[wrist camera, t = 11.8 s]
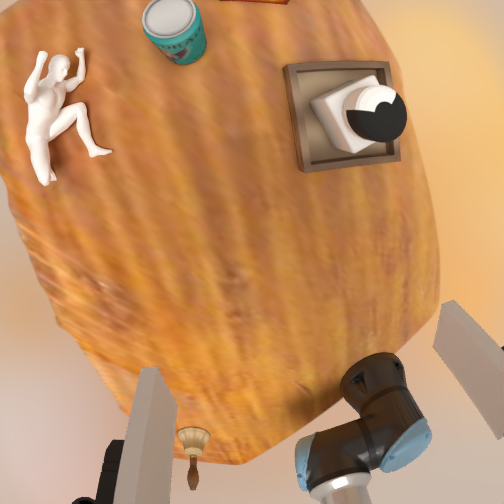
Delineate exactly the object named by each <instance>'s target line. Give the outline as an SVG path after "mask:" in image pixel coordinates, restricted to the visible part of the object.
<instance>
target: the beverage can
mask: <svg viewBox="0 0 504 504" xmlns="http://www.w3.org/2000/svg"><path fill="white" fill-rule="evenodd" d="M142 23H143V30H144V32H145V34H146V36H147V37H148V38H149V39H150V40H151V41H152V42H153V43H154V44H155V45H156V46H157V47H158V48H159V49H160V51H161V52H162V53H163V54H164V55H165V56H166V57H167V58H168V59H169V60H170V61H172V62H174V63H176V64H181V65H182V64H190V63H193V62H195V61H196V60H198V59H199V58H200V57H201V56H202V55H203V53H204V52H205V49H206V38H205V33H204V29H203V24H202V20H201V15H200V11H199V9H198V7H197V5H196V4H195V3H194V2H193V1H192V0H153V1H152V2H150V3H149V5H148V6H147V7H146V9H145V10H144V13H143V17H142Z"/></svg>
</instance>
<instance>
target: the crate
mask: <svg viewBox="0 0 504 504" xmlns="http://www.w3.org/2000/svg"><path fill="white" fill-rule="evenodd" d="M283 73H284V79H285V84H286V90H287V96H288V101H289V107H290V113H291V119H292V126H293V132H294V139H295V145H296V152H297V159H298V166H299V170H301V171H302V172H304V173H311V172H318V171H324V170H331V169H339V168H346V167H354V166H362V165H370V164H379V163H388V162H397V161H401V157H400V143H399V137H398V138H397V139H395V140H393V141H391V142H387V143H380V142H374V143H373V144H371V145H369V146H367V147H366V148H364V149H362V150H360V151H358V152H357V153H351V152H347V151H344V150H341V149H337V148H334V147H333V146H332V144H331V142H330V140H329V138H328V136H327V134H326V133H325V131H324V129H323V127H322V125H321V123H320V122H319V120H318V118H317V116H316V115H315V113H314V111H313V109H312V108H311V106H310V104H309V101H310V100H312V99H314V98H316V97H318V96H320V95H322V94H324V93H326V92H328V91H330V90H332V89H334V88H336V87H338V86H340V85H342V84H344V83H346V82H348V81H350V80H354V79H358V78H362V77H366V76H370V75H374V76H375V77H376V79H377V81H378V83H379V85H384V86H387V87H390V88H391V89H393V83H392V77H391V71H390V65H389V62H384V61H331V62H311V63H297V64H287V65H286V66H285V67H284V68H283Z"/></svg>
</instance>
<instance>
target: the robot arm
mask: <svg viewBox="0 0 504 504" xmlns="http://www.w3.org/2000/svg"><path fill="white" fill-rule="evenodd" d="M433 348H434V349H435V351H436V352H437V353H438V355H439V356H440V357H441V358H442V360H443V361H444V363H445V364H446V365H447V367H448V368H449V369H450V370H451V372H452V373H453V374H454V376H455V377H456V379H457V380H458V381H459V383H460V384H461V386H462V387H463V389H464V390H465V391H466V393H467V394H468V396H469V397H470V399H471V400H472V401H473V403H474V404H475V406H476V407H477V409H478V410H479V412H480V413H481V415H482V416H483V418H484V419H485V421H486V422H487V424H488V425H489V427H490V428H491V430H492V432H493V433H494V435H495V436H496V438H497V439H498V440H499V439H501V438H502V437H504V346H503V347H501V348H500V347H499V346H498V345H497V343H496V342H495V341H494V340H493V339H492V338H491V337H490V336H489V335H488V334H487V333H486V332H485V331H484V330H483V329H482V328H481V326H479V325H478V323H477V322H476V321H475V320H473V318H472V317H471V316H469V314H468V313H467V312H466V311H465V310H464V309H463V308H462V307H461V306H460V305H458V303H456V302H455V301H454V300H452V301H449V302H446V303H444V304H442V307H441V312H440V317H439V322H438V327H437V331H436V335H435V340H434V344H433ZM341 392H342V394H343V397H344V399H345V400H346V401H347V402H348V403H349V404H350V405H351V406H352V407H353V408H354V409H355V410H356V411H357V412H358V413H359V415H360V417H361V418H359V419H357V420H354V421H351V422H348V423H346V424H342V425H340V426H336V427H334V428H331V429H328V430H324V431H321V432H315V433H314V434H312V435H309V436H306V437H303V438H301V439H300V440H299V441H298V442H297V444H296V448H295V466H296V473H297V477H298V483H299V486H300V488H301V489H302V490H303V491H309V493H310V497H311V498H313V499H315V500H317V501H319V502H320V503H321V504H372V503H371V500H370V497H369V494H368V491H367V485H368V484H369V482H370V480H371V474H370V471H371V470H373V469H376V468H379V467H380V470H382V471H383V472H385V473H388V472H391V471H396V470H398V469H400V468H402V467H404V466H406V465H407V464H409V463H410V462H412V461H413V460H414V459H416V458H417V457H418V456H419V455H420V454H421V453H422V452H423V451H424V450H425V449H426V448H427V447H428V445H429V444H430V442H431V439H432V433H431V430H430V428H429V426H428V424H427V420H426V418H424V416H423V414H422V412H421V411H420V409H419V407H418V406H417V404H416V402H415V400H414V399H413V397H412V395H411V393H410V392H409V390H408V388H407V384H406V378H405V371H404V367H403V365H402V363H401V361H400V360H399V358H398V357H397V356H396V355H394V354H391V353H379V354H375V355H372V356H369V357H367V358H365V359H363V360H361V361H359V362H358V363H357V364H355V365H354V366H353V367H352V368H351V369H349V371H348V372H347V373H346V374H345V376H344V377H343V379H342V382H341ZM177 407H178V405H177V403H176V401H175V399H174V397H173V395H172V394H171V392H170V390H169V388H168V386H167V384H166V382H165V380H164V378H163V376H162V374H161V372H160V370H159V368H158V366H156V367H146V368H142V369H141V372H140V376H139V380H138V384H137V388H136V392H135V397H134V401H133V405H132V409H131V414H130V418H129V423H128V427H127V432H126V436H125V440H112V442H111V443H110V445H109V446H108V448H107V449H106V452H105V457H104V463H103V465H102V472H101V475H100V479H99V484H98V490H97V494H96V499H95V500H93V499H91V498H89V497H81V498H78V499H76V500H75V501H74V502H72V504H170V489H171V473H172V461H173V449H174V437H175V427H176V416H177Z"/></svg>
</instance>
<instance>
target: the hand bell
mask: <svg viewBox="0 0 504 504" xmlns="http://www.w3.org/2000/svg"><path fill="white" fill-rule="evenodd" d="M177 436H178V438H179V439H180V440H181V441H182V442H183V445H184V452H185V453H186V454H187V455H189V456H190V469H189V471H188V476H187V480H188V484H189V486H190V490H196V487H197V484H198V481H199V475H198V471H197V466H196V465H197V456H200V455H201V454H202V453H203V447H204V445H205V443H206V442H208V441H209V439H210V434H209V433H208V432H207V431H206V430H204V429H201V428H195V427H187V428H183V429H181V430H179V431H178V433H177Z"/></svg>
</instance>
